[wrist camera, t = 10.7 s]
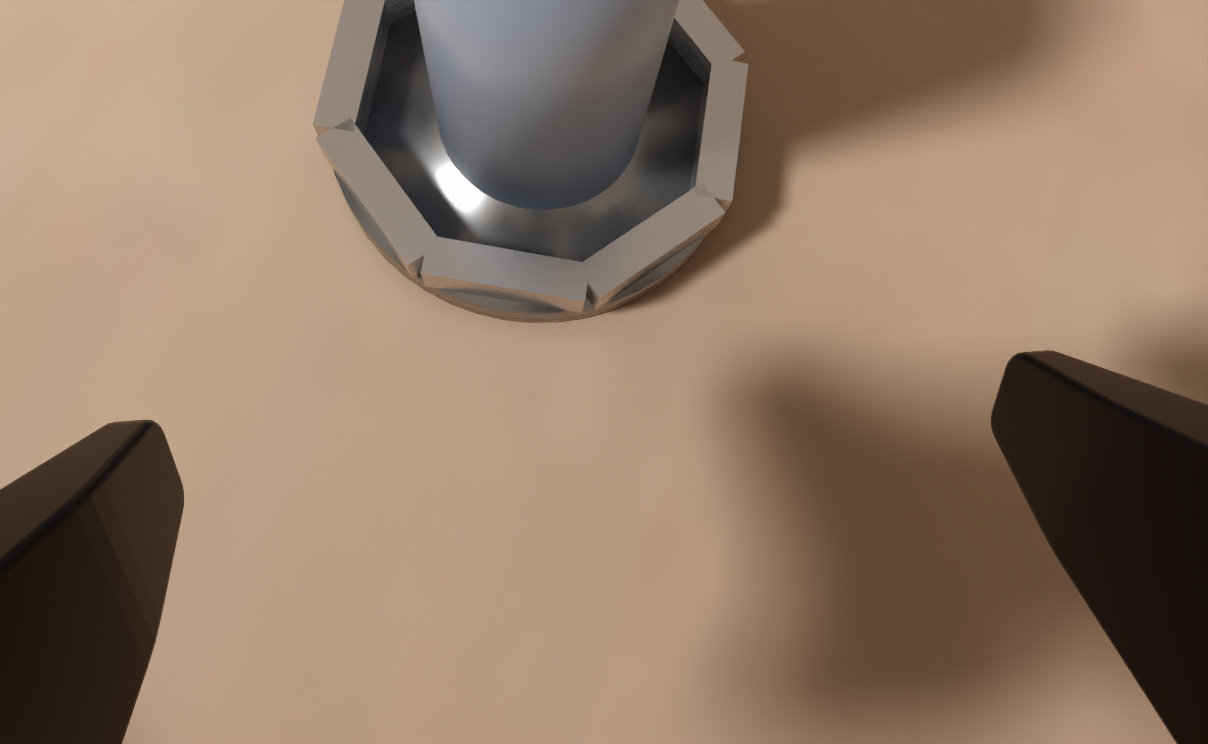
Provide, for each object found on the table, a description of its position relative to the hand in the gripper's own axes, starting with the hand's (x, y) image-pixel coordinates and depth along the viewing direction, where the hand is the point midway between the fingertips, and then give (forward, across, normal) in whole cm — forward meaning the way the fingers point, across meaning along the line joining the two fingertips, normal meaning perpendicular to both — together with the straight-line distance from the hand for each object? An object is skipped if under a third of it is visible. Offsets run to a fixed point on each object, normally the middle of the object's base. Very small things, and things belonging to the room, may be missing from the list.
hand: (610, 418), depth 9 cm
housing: (+12, 0, 0) cm, 12 cm away
